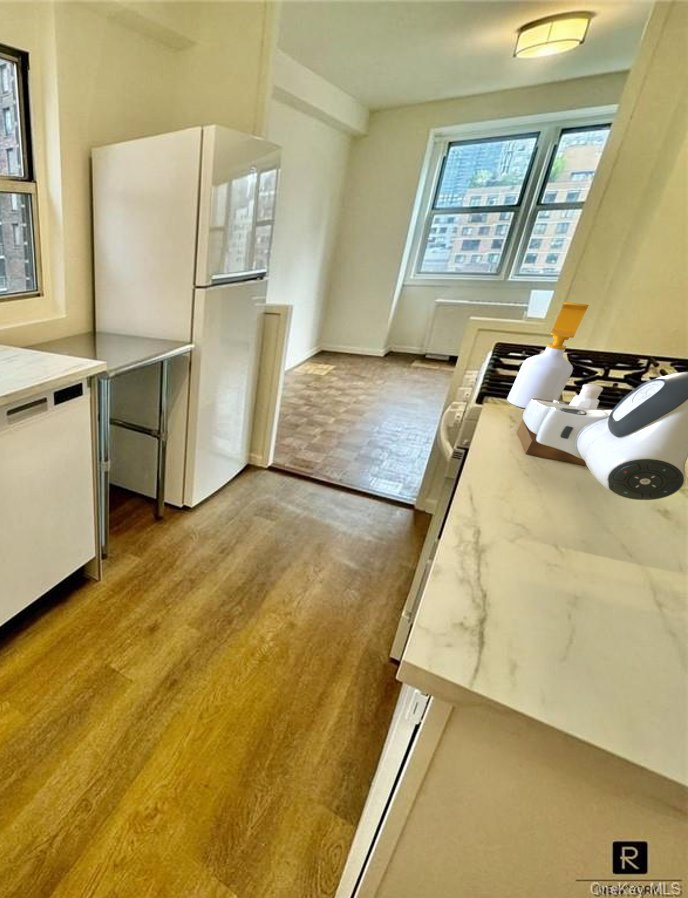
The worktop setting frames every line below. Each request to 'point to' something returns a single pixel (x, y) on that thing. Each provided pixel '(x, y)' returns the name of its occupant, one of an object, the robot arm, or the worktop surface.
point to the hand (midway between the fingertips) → (589, 409)
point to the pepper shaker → (587, 396)
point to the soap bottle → (548, 362)
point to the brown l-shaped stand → (543, 450)
